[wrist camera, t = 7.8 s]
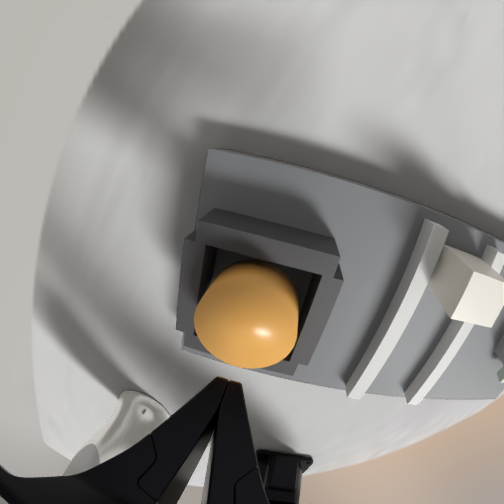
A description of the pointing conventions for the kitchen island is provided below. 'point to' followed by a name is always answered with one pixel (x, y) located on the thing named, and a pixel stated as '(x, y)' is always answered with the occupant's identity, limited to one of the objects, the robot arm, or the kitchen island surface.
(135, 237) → the kitchen island surface
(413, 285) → the panel
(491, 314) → the cream rectangular brick
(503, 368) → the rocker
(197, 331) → the button
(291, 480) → the robot arm
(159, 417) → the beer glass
